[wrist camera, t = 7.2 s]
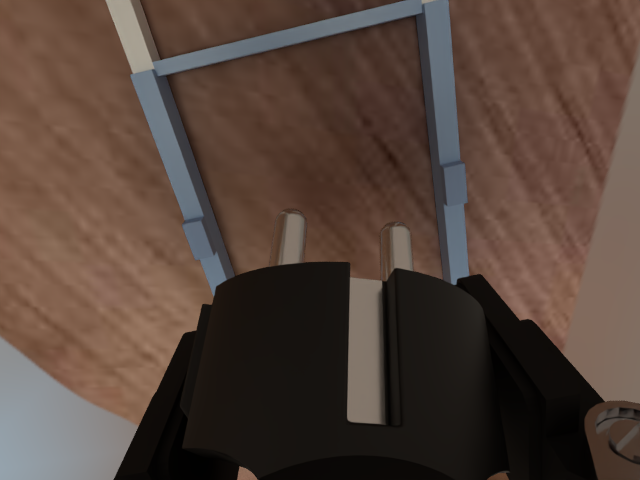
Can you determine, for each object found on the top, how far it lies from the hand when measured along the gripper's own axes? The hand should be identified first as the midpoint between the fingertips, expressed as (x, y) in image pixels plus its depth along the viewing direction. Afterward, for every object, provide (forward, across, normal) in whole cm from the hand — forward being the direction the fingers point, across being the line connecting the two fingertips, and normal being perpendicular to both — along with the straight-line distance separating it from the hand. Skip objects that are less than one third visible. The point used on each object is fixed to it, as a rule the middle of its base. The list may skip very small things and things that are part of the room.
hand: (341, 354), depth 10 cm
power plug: (+1, +1, +2) cm, 3 cm away
